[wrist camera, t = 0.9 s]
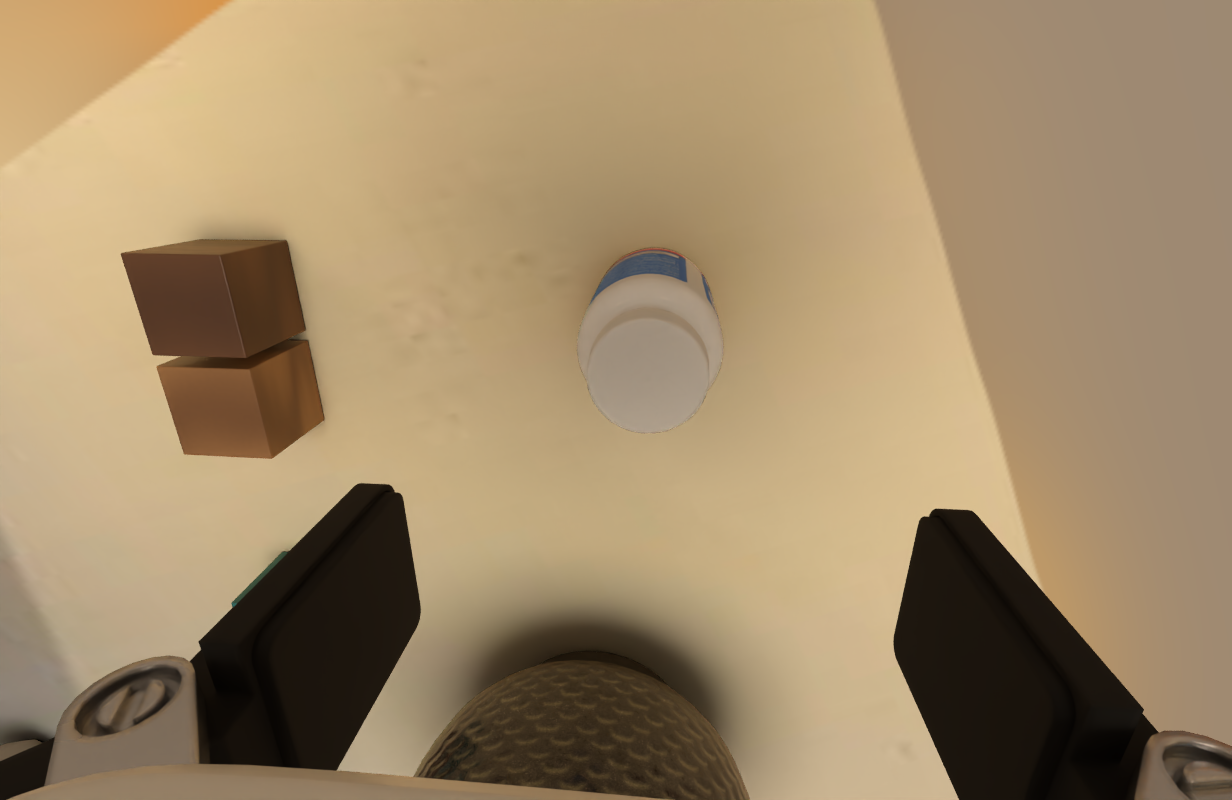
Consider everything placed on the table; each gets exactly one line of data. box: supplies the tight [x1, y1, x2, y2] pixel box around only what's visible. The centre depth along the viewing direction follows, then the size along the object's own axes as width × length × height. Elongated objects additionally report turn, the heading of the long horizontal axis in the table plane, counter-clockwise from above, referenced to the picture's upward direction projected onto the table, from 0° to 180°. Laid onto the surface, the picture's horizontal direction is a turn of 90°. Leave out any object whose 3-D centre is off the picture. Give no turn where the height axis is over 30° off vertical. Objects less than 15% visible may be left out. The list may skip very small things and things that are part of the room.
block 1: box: [121, 239, 305, 358], centre depth 27 cm, size 4×4×4 cm
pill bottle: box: [577, 248, 723, 433], centre depth 23 cm, size 6×5×10 cm
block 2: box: [157, 340, 324, 459], centre depth 29 cm, size 4×4×4 cm
